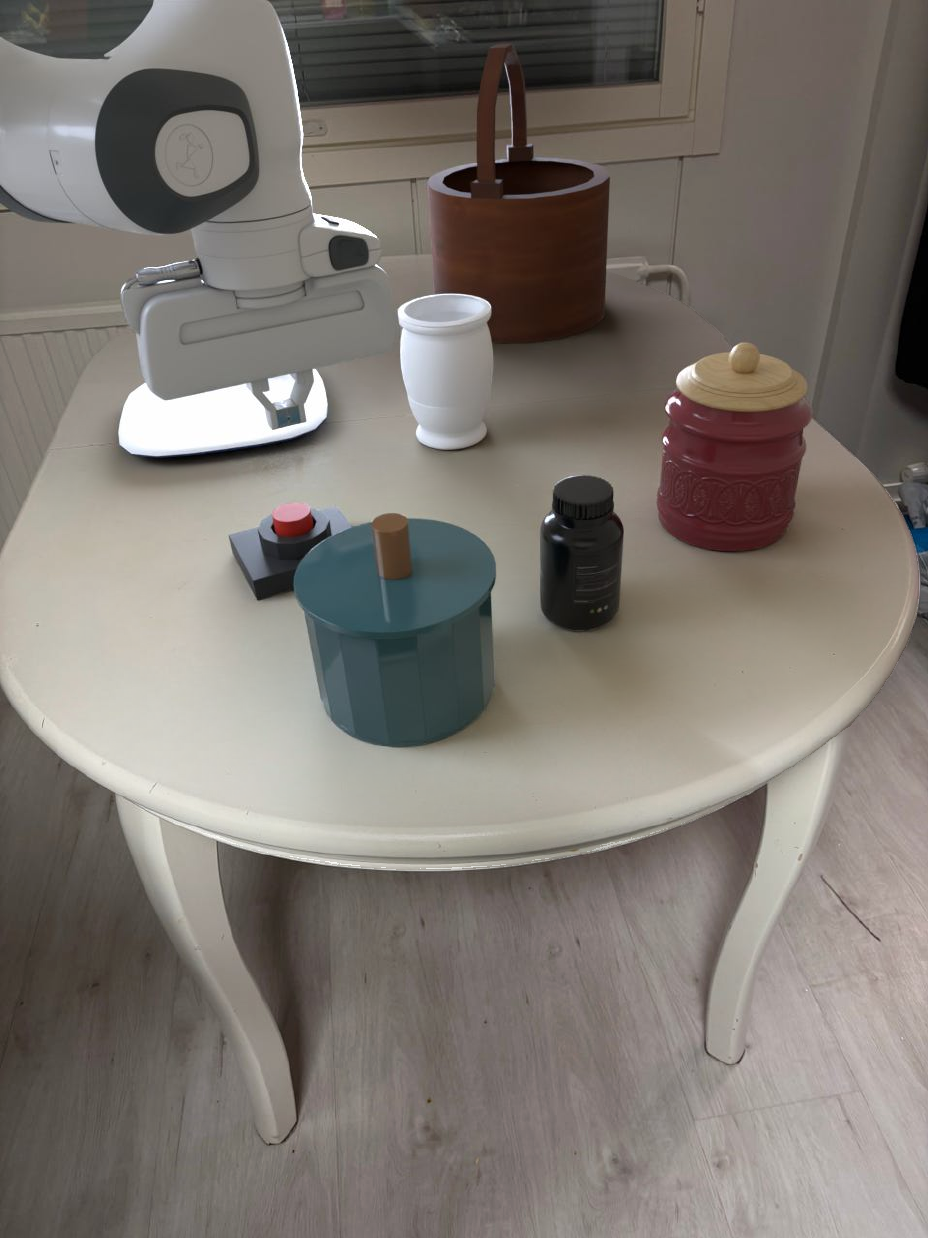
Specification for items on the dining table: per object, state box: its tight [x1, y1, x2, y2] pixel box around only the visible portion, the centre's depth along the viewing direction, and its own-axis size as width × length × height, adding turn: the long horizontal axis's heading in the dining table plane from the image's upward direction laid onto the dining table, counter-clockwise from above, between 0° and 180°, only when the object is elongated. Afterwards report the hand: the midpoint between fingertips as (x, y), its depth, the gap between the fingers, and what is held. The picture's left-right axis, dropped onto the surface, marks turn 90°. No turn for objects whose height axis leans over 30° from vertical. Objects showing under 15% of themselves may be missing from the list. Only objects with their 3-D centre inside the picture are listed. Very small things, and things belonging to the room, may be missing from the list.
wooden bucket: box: [426, 42, 611, 344], centre depth 131 cm, size 26×26×35 cm
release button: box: [271, 501, 313, 537], centre depth 86 cm, size 4×4×2 cm
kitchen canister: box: [656, 342, 814, 552], centre depth 86 cm, size 13×13×18 cm
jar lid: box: [293, 512, 497, 639], centre depth 66 cm, size 15×15×5 cm
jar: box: [397, 294, 494, 451], centre depth 104 cm, size 11×10×15 cm
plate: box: [117, 368, 329, 459], centre depth 116 cm, size 25×25×2 cm
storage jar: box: [303, 592, 496, 748], centre depth 70 cm, size 14×14×10 cm
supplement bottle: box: [539, 474, 625, 632], centre depth 77 cm, size 7×7×12 cm
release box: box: [228, 505, 353, 601], centre depth 88 cm, size 11×9×4 cm
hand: (287, 423), depth 76 cm, fingers closed
